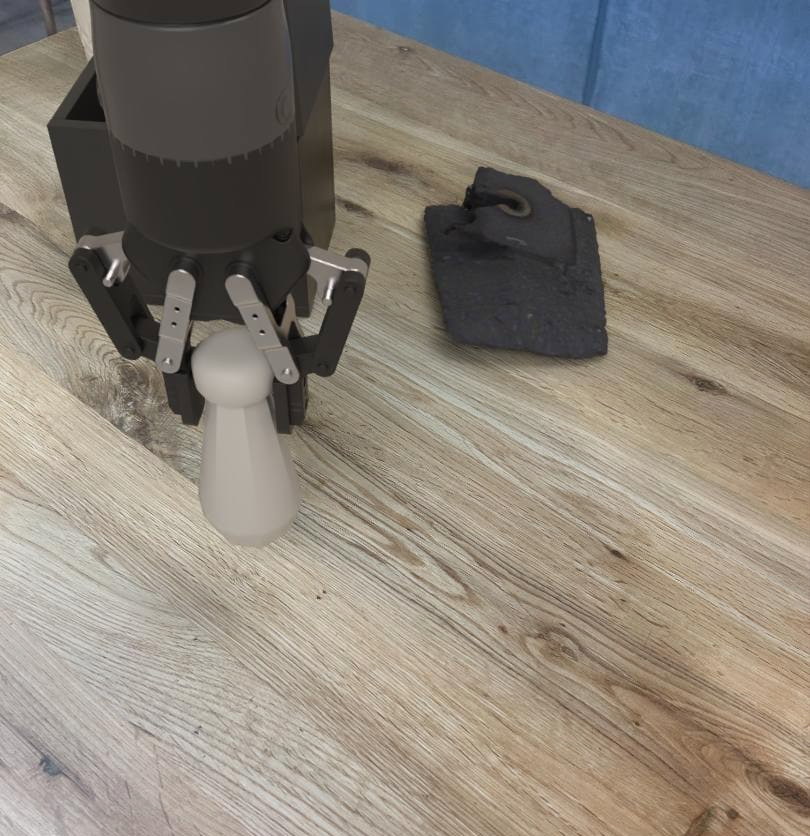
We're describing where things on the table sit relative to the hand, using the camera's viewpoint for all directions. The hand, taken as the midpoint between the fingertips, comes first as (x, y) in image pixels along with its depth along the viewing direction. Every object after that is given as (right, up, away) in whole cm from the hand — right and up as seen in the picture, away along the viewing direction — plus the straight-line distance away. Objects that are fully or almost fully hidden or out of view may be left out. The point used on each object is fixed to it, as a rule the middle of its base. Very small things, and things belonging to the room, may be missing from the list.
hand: (240, 417), depth 55 cm
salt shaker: (0, -6, +6) cm, 8 cm away
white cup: (-22, +44, +57) cm, 75 cm away
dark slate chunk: (+18, +15, +33) cm, 41 cm away
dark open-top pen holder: (-7, +18, +35) cm, 40 cm away
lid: (+1, +33, +15) cm, 36 cm away
